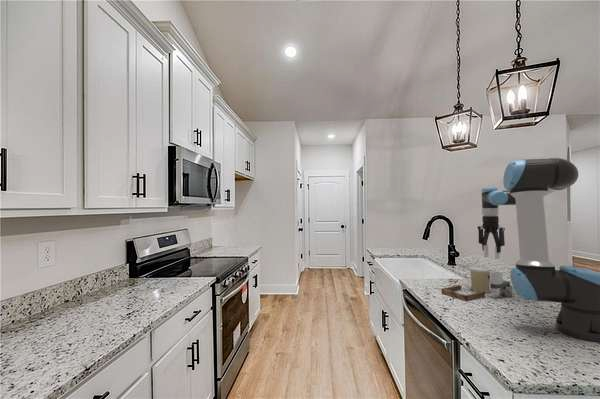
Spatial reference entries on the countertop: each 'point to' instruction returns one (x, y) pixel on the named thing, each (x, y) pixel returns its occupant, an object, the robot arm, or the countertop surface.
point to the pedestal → (506, 291)
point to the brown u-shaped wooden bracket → (451, 292)
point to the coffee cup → (480, 279)
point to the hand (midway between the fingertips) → (491, 257)
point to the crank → (498, 280)
